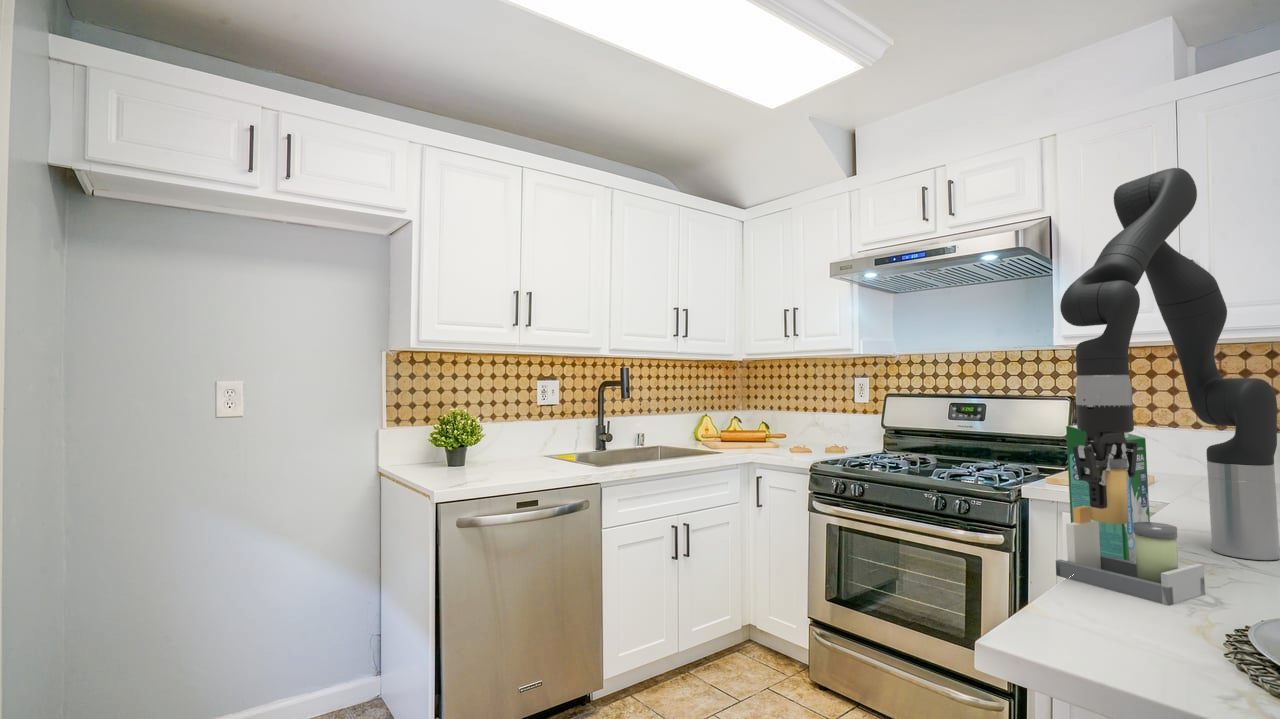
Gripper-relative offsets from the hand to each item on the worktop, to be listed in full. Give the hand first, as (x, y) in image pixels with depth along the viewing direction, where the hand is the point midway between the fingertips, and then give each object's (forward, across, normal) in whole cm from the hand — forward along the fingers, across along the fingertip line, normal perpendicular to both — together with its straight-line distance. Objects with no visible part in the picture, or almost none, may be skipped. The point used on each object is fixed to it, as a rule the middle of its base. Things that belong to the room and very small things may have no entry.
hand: (1108, 505), depth 102 cm
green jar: (+12, 0, +6) cm, 14 cm away
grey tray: (+13, 0, +3) cm, 13 cm away
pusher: (+12, 0, -4) cm, 13 cm away
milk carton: (+13, -16, -9) cm, 23 cm away
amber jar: (+2, 0, 0) cm, 2 cm away
